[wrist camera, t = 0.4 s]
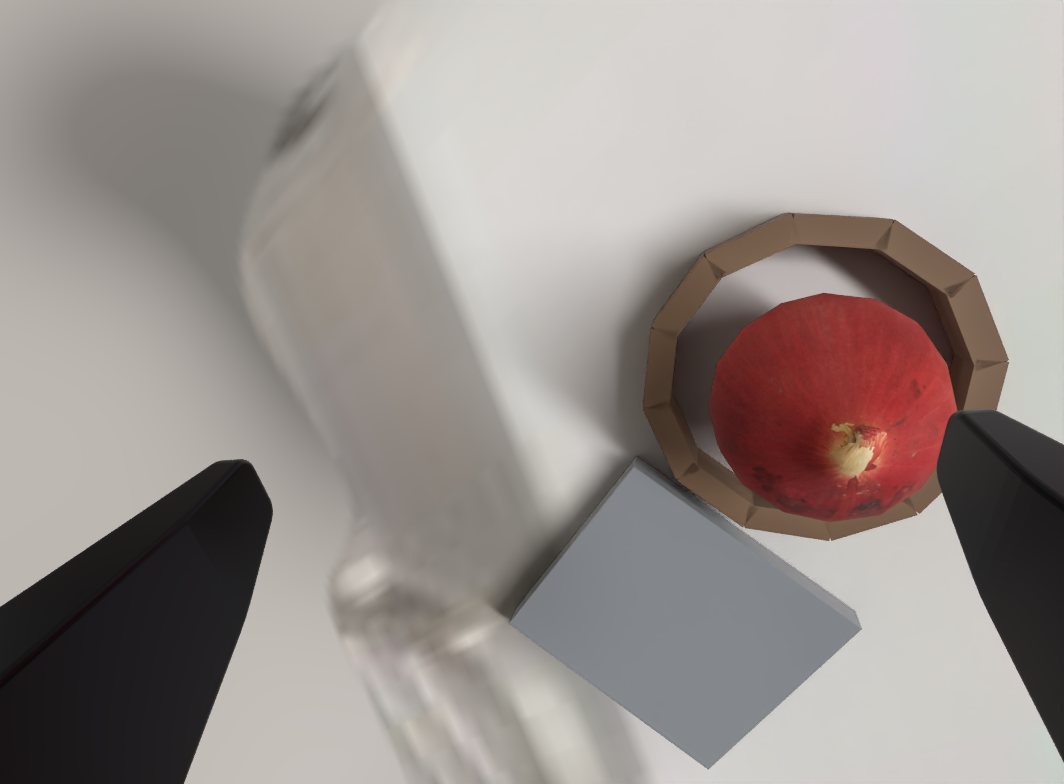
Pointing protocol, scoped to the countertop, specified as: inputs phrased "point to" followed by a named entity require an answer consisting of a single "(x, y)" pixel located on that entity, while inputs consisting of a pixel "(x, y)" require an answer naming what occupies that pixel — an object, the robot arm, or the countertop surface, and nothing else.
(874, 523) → the ring
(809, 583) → the slate tile
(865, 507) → the onion
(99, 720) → the robot arm
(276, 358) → the countertop surface
